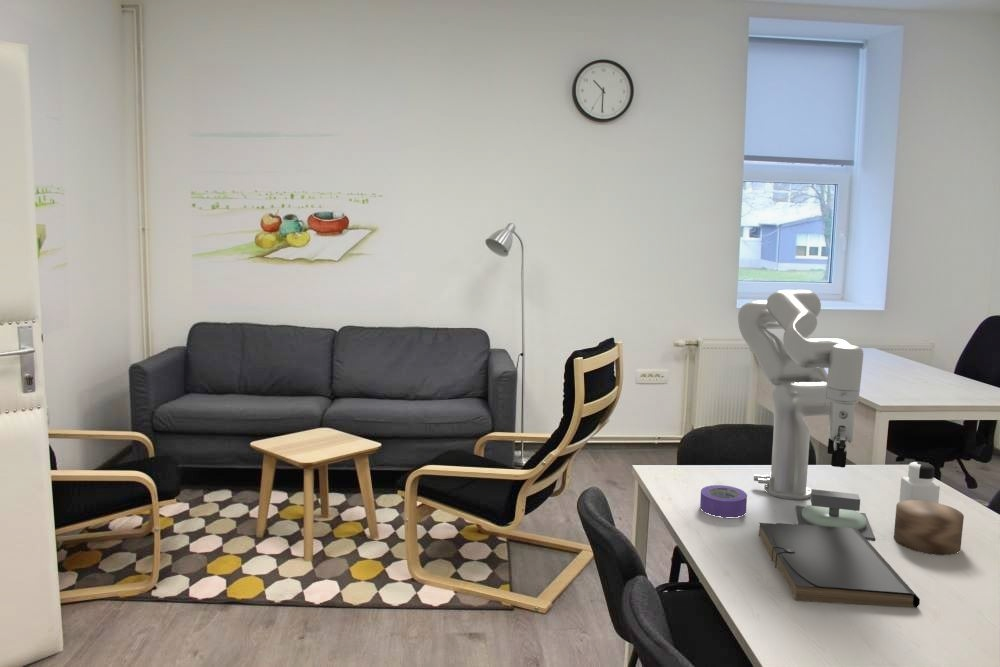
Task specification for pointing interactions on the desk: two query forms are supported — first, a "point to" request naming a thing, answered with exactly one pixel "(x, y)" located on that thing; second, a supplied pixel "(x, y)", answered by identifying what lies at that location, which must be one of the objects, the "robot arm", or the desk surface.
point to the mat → (866, 532)
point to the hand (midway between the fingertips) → (836, 460)
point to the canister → (928, 527)
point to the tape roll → (723, 501)
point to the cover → (834, 510)
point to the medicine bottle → (919, 483)
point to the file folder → (834, 566)
